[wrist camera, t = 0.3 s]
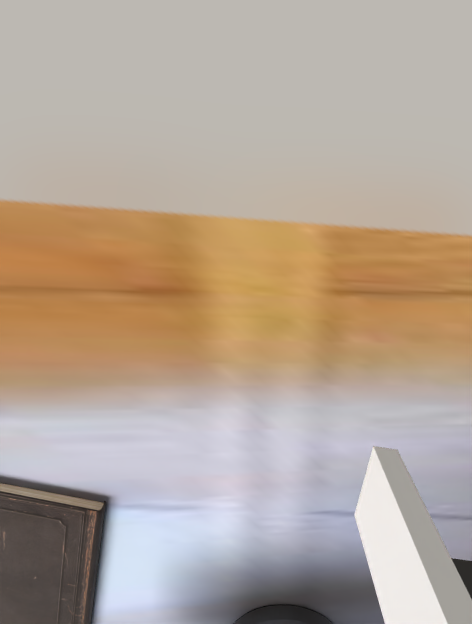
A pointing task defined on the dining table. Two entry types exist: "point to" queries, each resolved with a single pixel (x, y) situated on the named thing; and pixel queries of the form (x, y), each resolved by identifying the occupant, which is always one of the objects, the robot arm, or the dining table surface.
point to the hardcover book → (48, 556)
